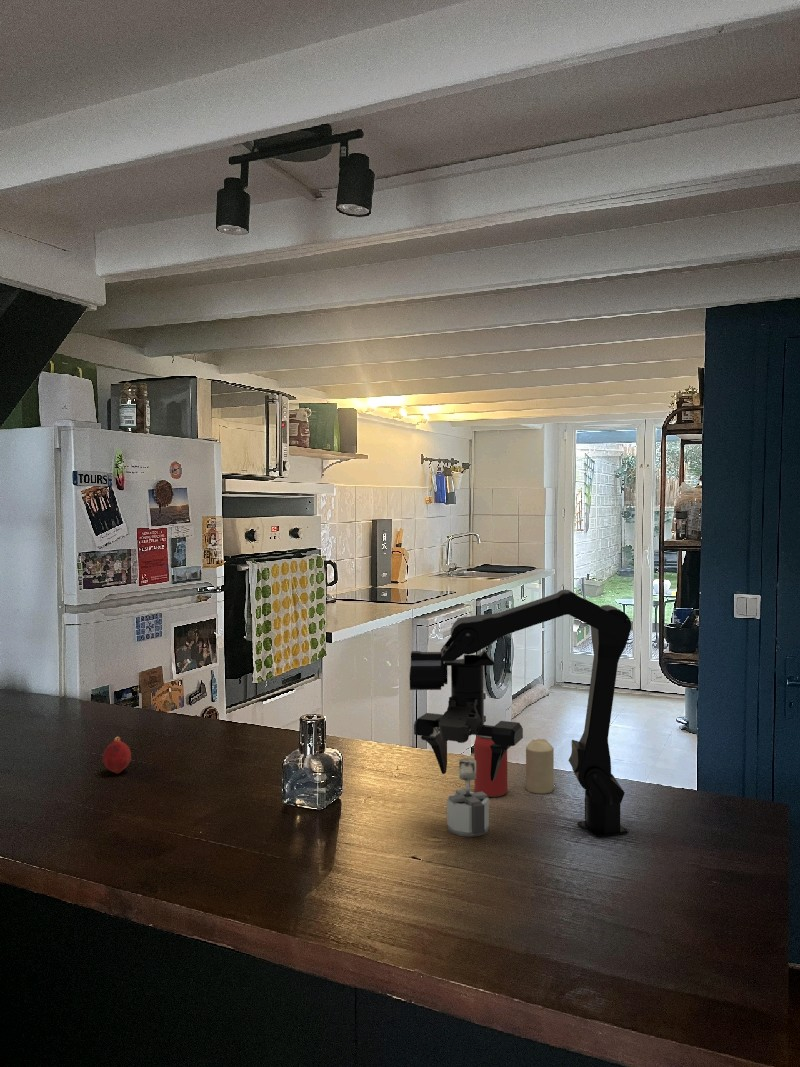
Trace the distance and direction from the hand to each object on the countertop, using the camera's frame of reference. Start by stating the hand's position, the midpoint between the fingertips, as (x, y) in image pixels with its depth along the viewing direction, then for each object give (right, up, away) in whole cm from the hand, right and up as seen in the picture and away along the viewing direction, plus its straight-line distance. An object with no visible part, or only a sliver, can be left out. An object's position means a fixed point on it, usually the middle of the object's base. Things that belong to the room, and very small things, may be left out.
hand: (468, 776), depth 146 cm
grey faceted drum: (0, -9, 0) cm, 9 cm away
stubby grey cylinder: (0, -5, 0) cm, 5 cm away
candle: (+16, -9, +20) cm, 27 cm away
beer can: (+6, -9, +19) cm, 21 cm away
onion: (-73, -9, +32) cm, 81 cm away
